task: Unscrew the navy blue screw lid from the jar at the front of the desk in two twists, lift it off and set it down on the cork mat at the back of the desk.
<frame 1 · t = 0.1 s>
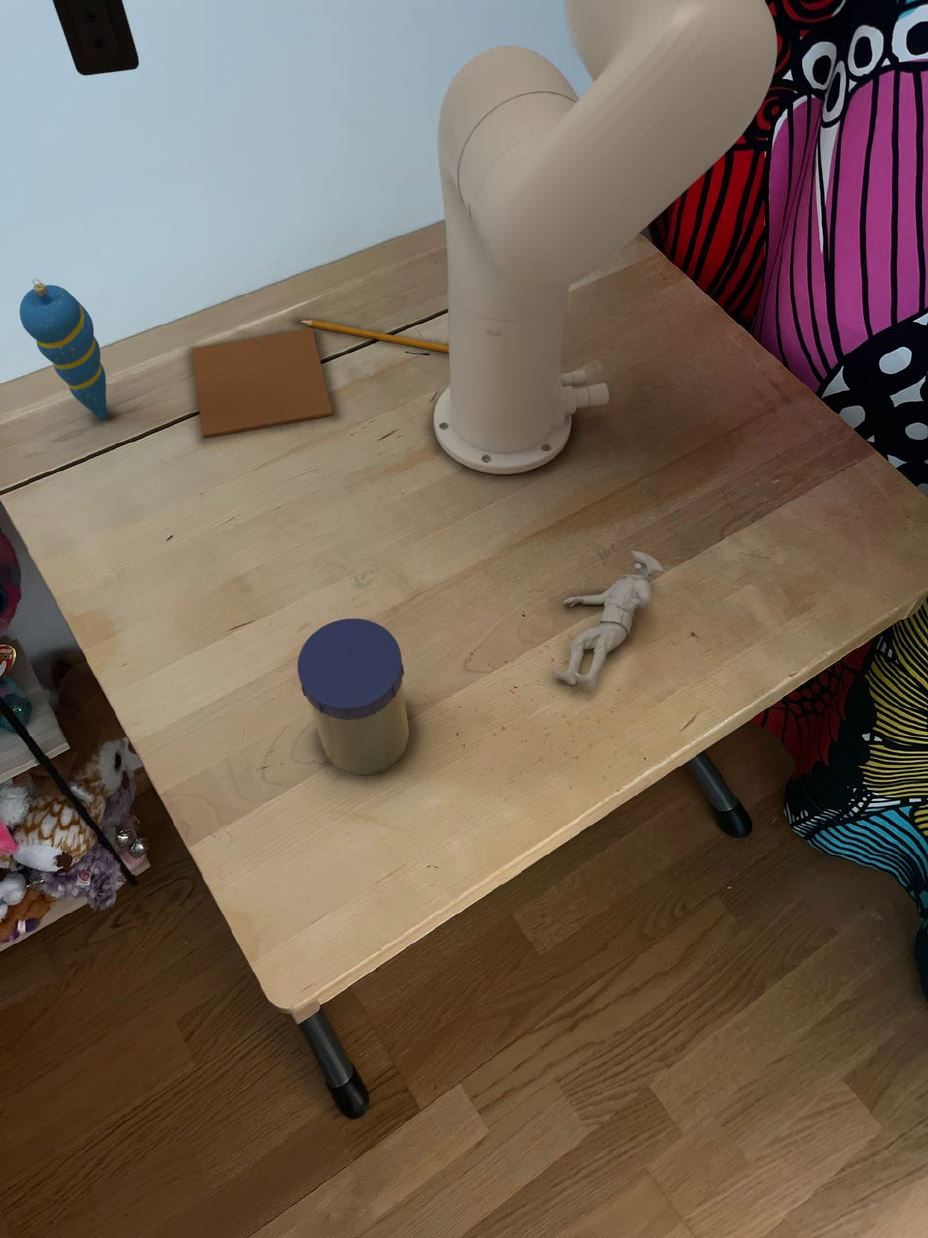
hand: (106, 25, 51), 37 cm above the table, tool pointing down, fingers open, 9 cm apart
soldier figure: (605, 636, 72), on the table
jar: (365, 735, 68), on the table
jar lid: (350, 664, 59), point 10 cm above the table, screwed on, not yet turned
ornament: (102, 418, 85), on the table
pencil: (388, 342, 91), on the table
mat: (260, 382, 88), on the table
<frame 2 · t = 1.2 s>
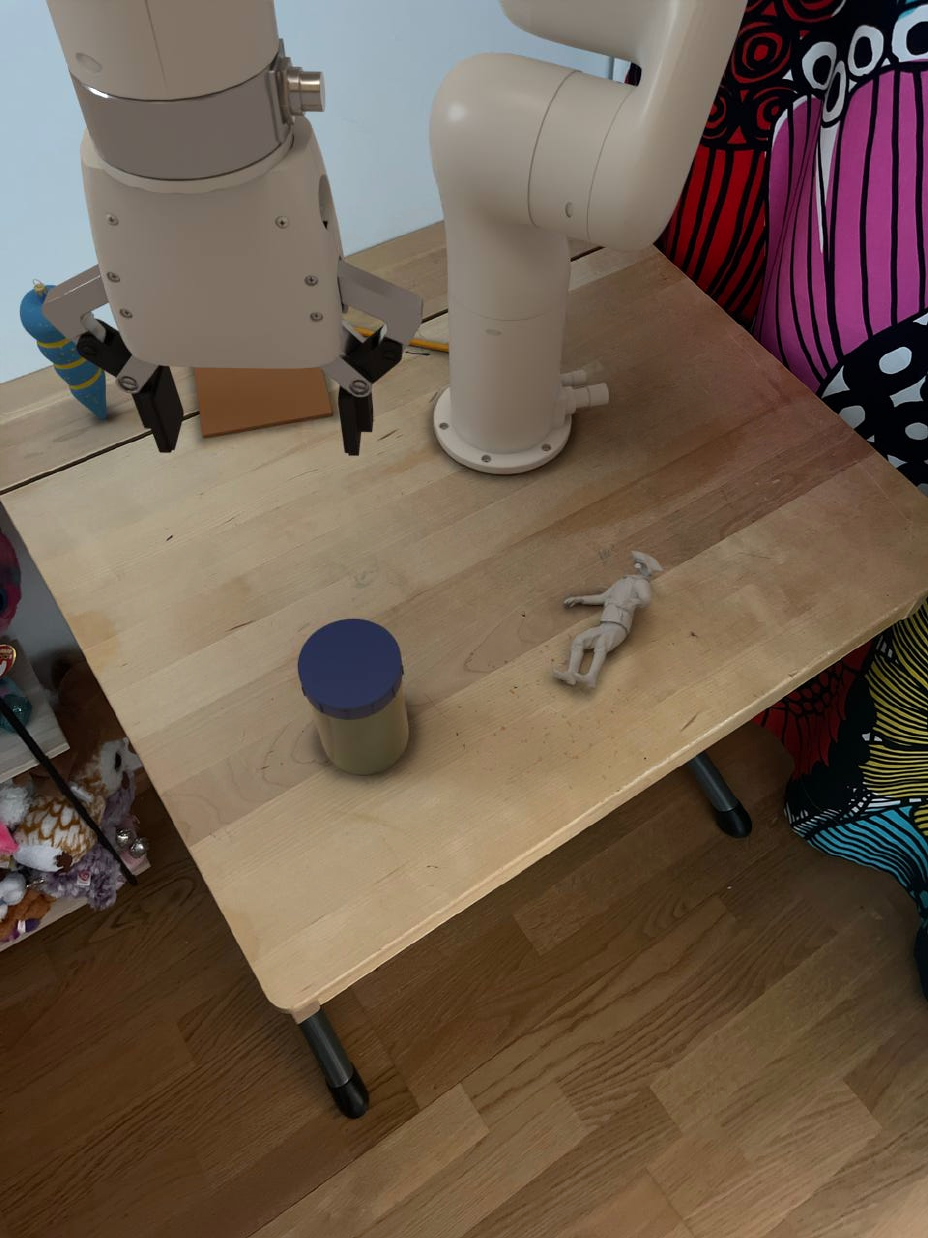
hand: (263, 435, 48), 26 cm above the table, tool pointing down, fingers open, 9 cm apart
nothing on the table moved.
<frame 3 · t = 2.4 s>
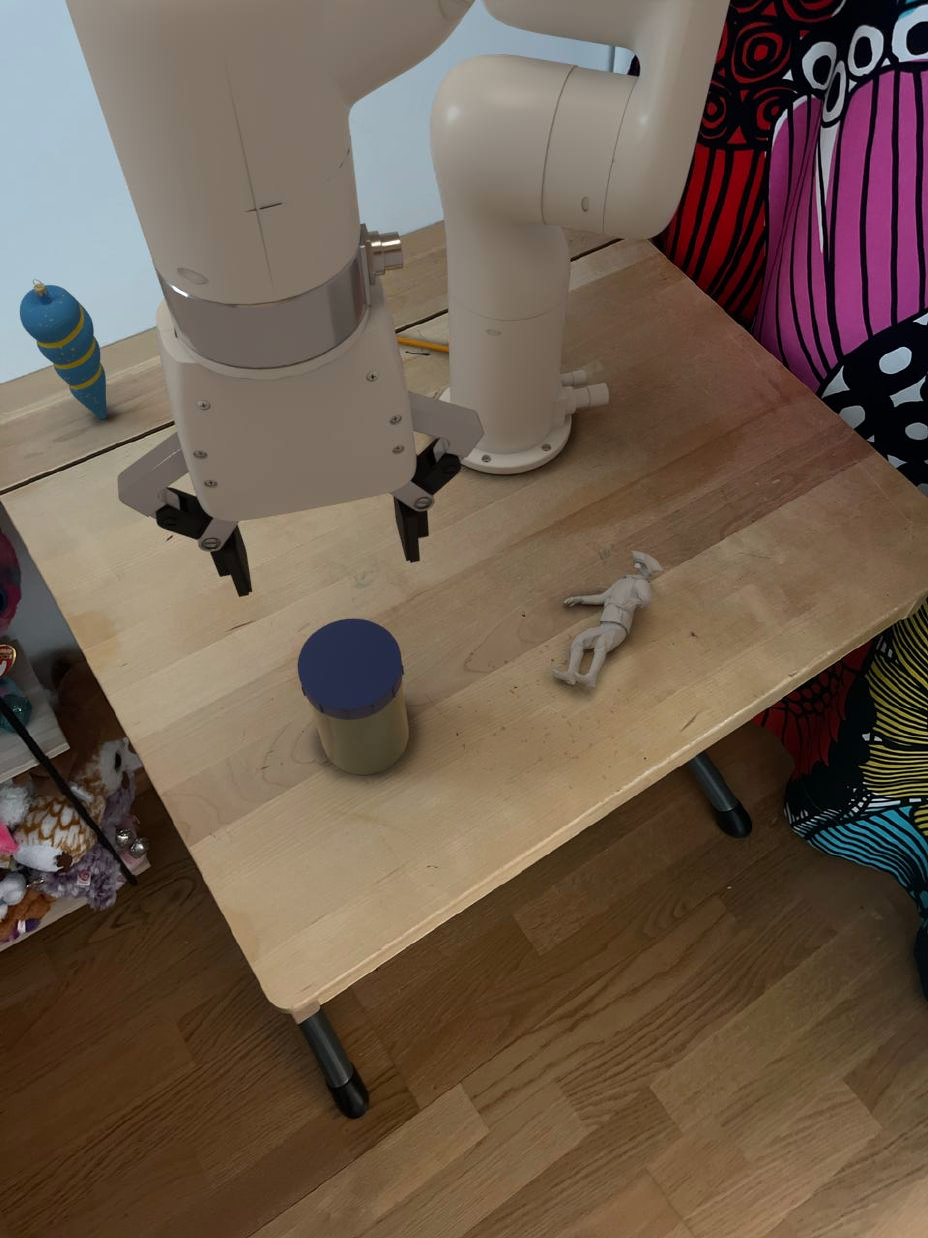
hand: (326, 557, 49), 22 cm above the table, tool pointing down, fingers open, 8 cm apart
nothing on the table moved.
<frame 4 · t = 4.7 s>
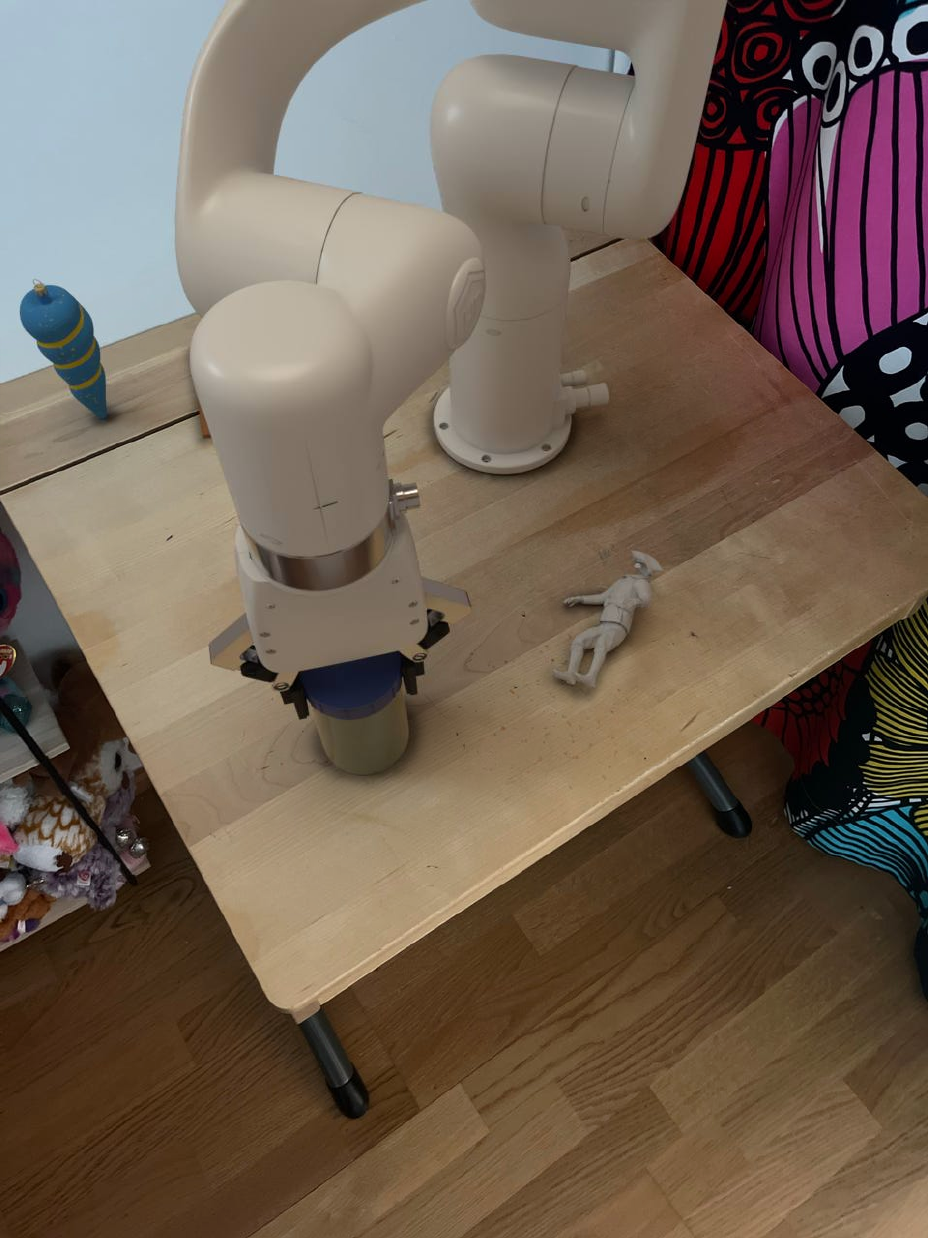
hand: (354, 687, 61), 7 cm above the table, tool pointing down, fingers closed on jar lid, 6 cm apart
jar lid: (349, 664, 59), point 10 cm above the table, screwed on, not yet turned, touching gripper
everything else where it was.
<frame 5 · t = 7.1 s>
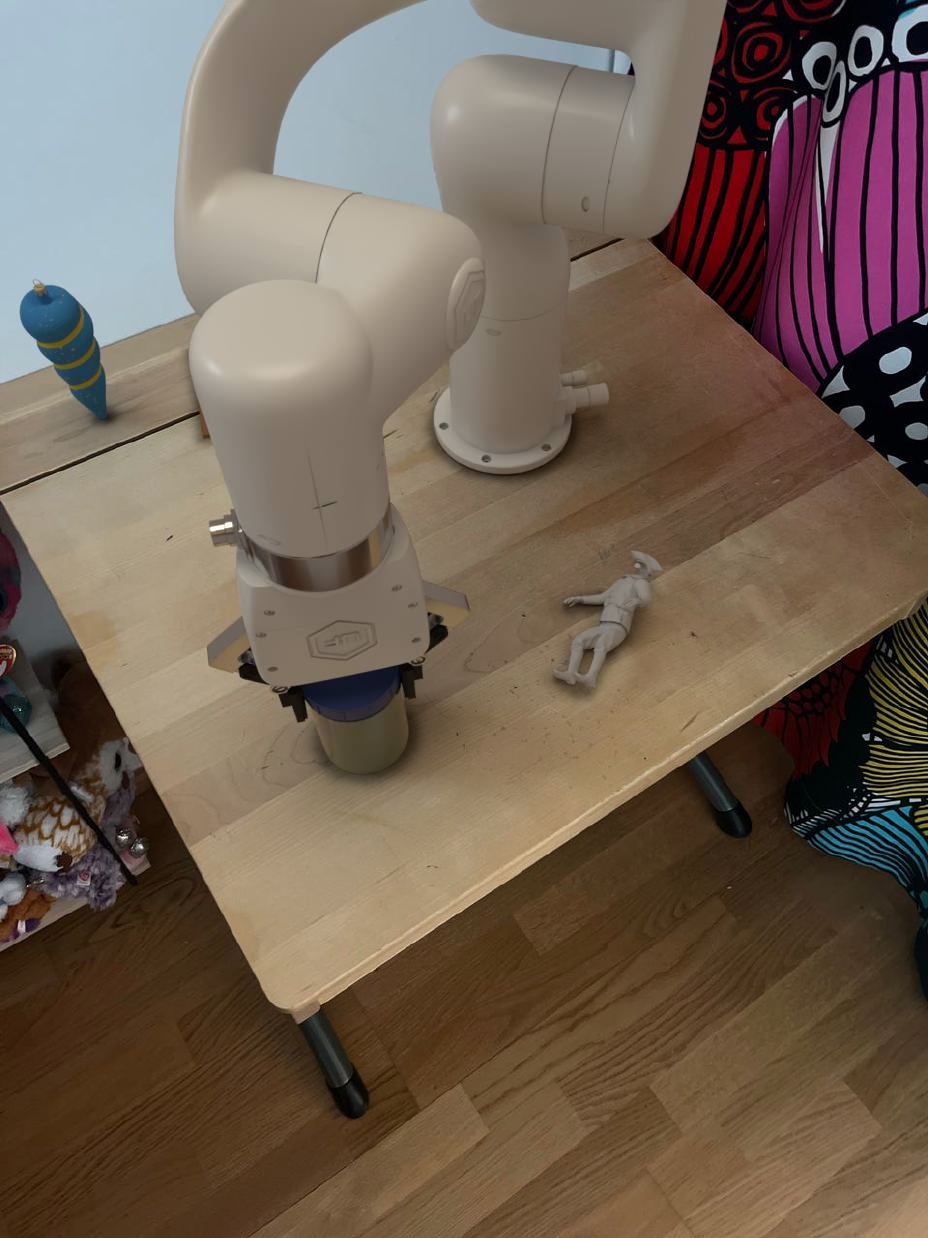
hand: (353, 690, 61), 8 cm above the table, tool pointing down, fingers closed on jar lid, 6 cm apart
jar: (365, 733, 67), on the table, touching gripper
jar lid: (347, 665, 58), point 11 cm above the table, turned 179° so far, risen 0.2 cm, still on its thread, touching gripper
everything else where it was.
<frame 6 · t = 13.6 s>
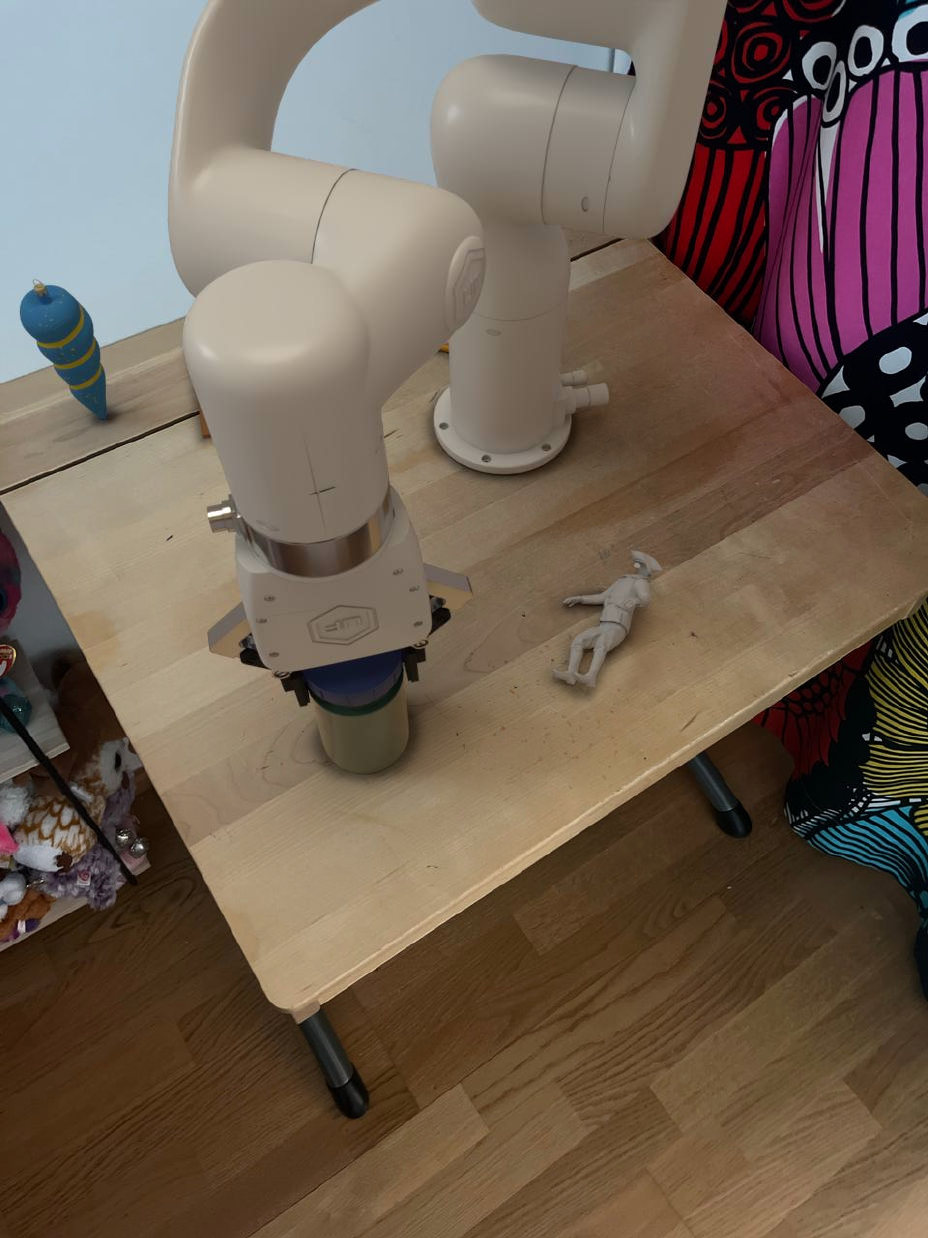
hand: (356, 674, 61), 8 cm above the table, tool pointing down, fingers closed on jar lid, 6 cm apart
jar: (365, 733, 68), on the table
jar lid: (350, 649, 58), point 12 cm above the table, off its thread, touching gripper
everything else where it was.
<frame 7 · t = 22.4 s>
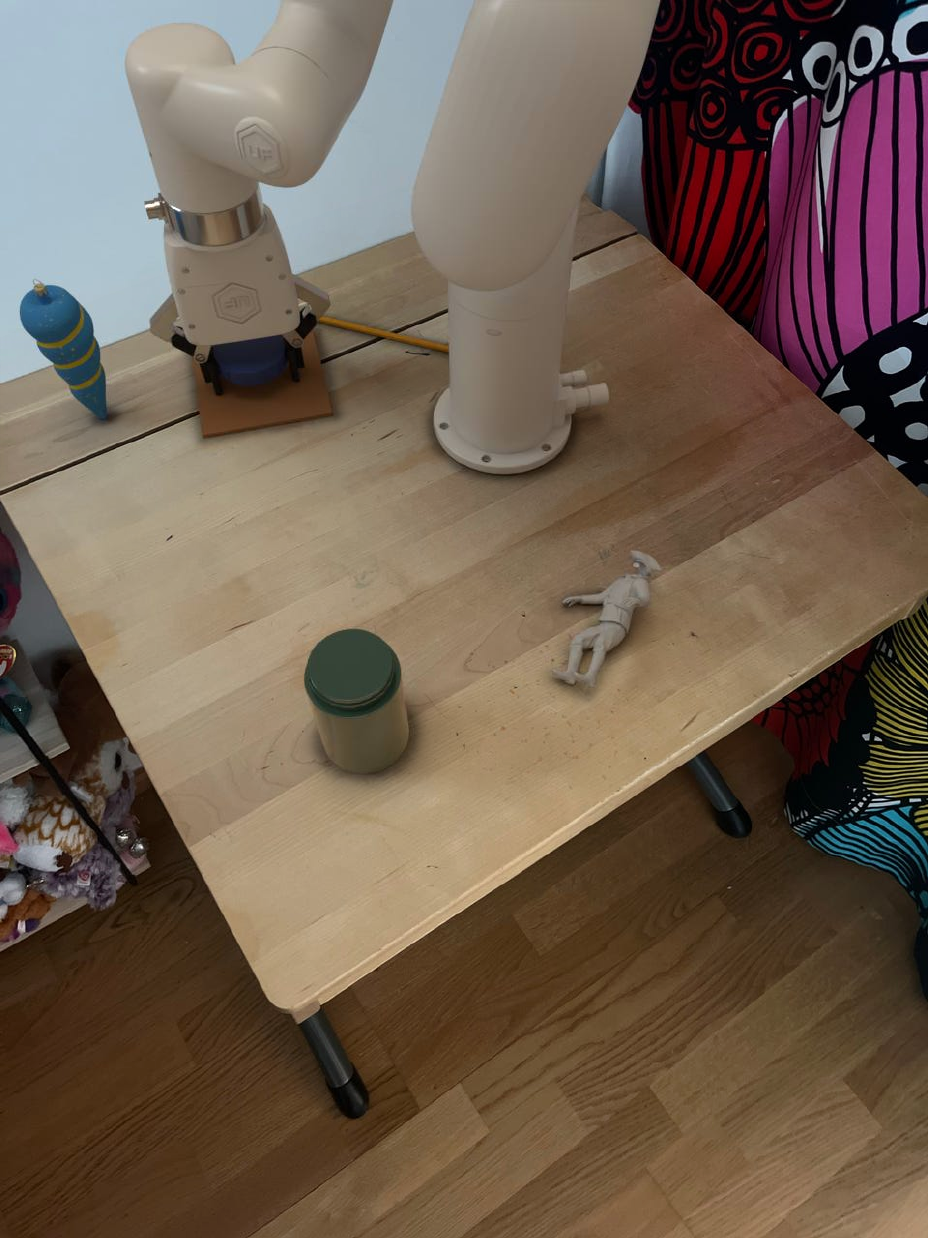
hand: (256, 377, 87), 1 cm above the table, tool pointing down, fingers closed on jar lid, 6 cm apart
jar lid: (249, 349, 84), point 4 cm above the table, off its thread, touching gripper
everything else where it was.
when the fingers open (1 cm above the table, at t = 32.4 s): jar lid drops 3 cm, resting on mat.
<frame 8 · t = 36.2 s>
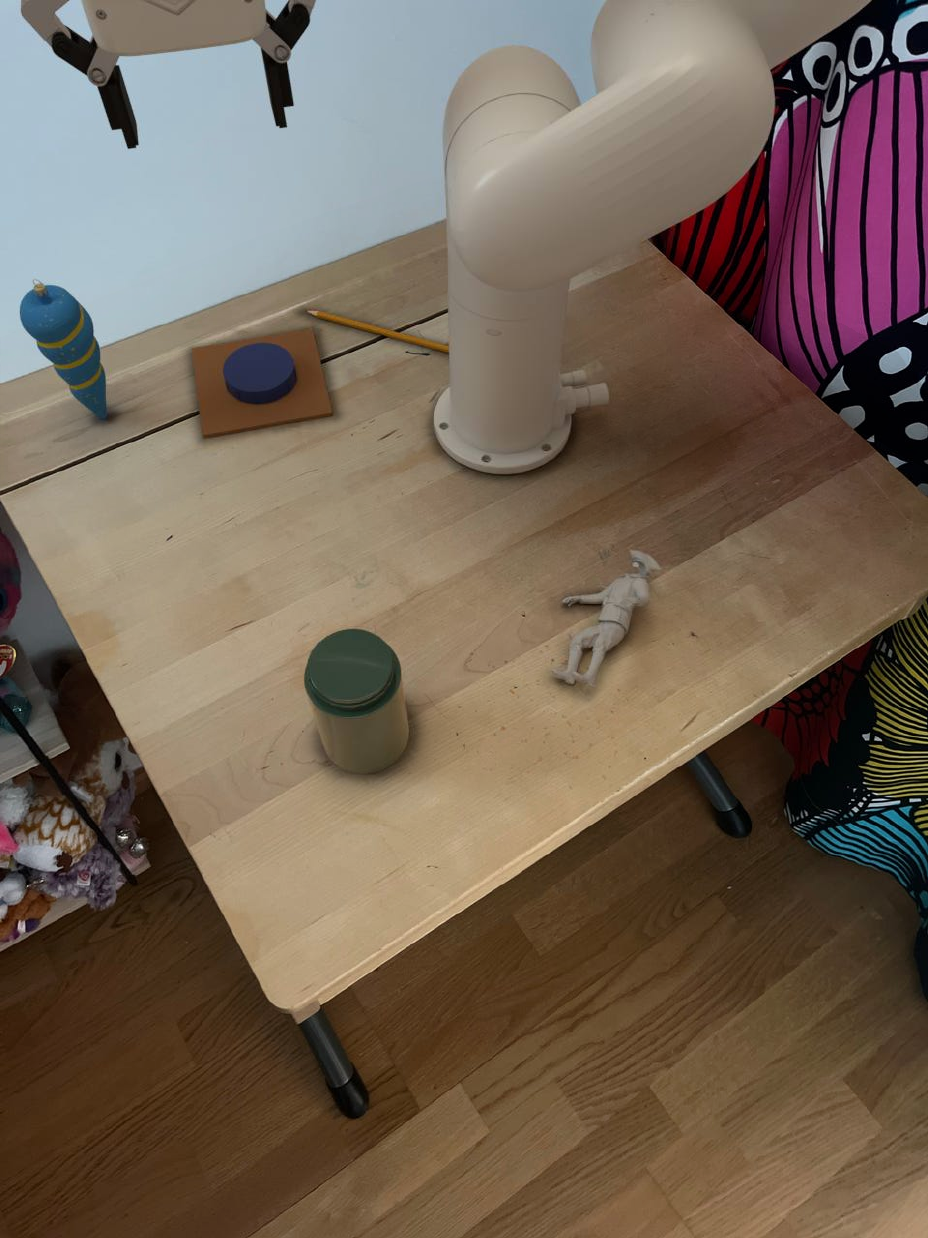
hand: (206, 126, 60), 28 cm above the table, tool pointing down, fingers open, 9 cm apart
jar lid: (259, 368, 86), point 2 cm above the table, off its thread, touching mat
everything else where it was.
at the end: the gripper is holding nothing; jar lid point 1.7 cm above the table; jar lid inside the target area on the mat (0.1 cm from its centre), point 1.7 cm above the mat's base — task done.
